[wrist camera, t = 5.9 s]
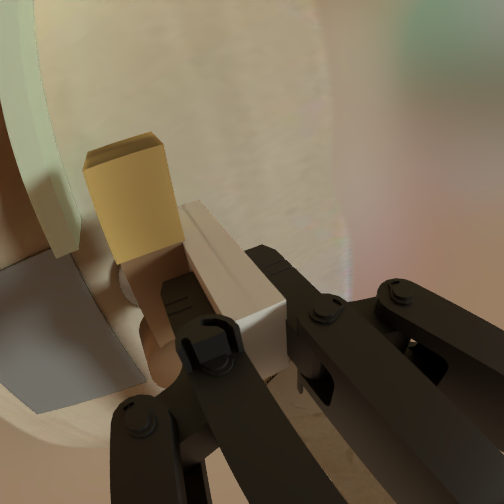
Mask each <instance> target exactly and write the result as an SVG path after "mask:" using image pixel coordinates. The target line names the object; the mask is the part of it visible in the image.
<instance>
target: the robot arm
mask: <svg viewBox="0 0 504 504" xmlns="http://www.w3.org/2000/svg"><path fill="white" fill-rule="evenodd" d="M177 209H178V213H179V217H180V221H181V225H182V229H183V233H184V237H185V241H182V244H183V247H184V251H185V255H186V258H187V262H188V266H189V269H190V272H188V273H186V274H183V275H180V276H177V277H175V278H172V279H169V280H166V281H164V282H163V284H162V288H161V292H160V295H161V298H162V301H163V304H164V307H165V310H166V313H167V316H168V319H169V322H170V324H171V327H172V330H173V333H174V336H175V338H176V339H175V349H176V352H177V354H178V356H179V358H180V360H181V362H182V368H181V371H180V374H179V376H178V377H177V379H176V380H175V381H174V382H173V383H172V384H171V385H170V386H169V387H168V388H166V389H165V390H164V391H162V392H161V393H160V394H158V395H157V396H156V397H153V396H151V395H136V396H133V397H129V398H128V399H126V400H125V401H123V402H122V403H120V404H119V406H118V407H117V409H116V410H115V411H114V413H113V417H112V421H111V432H110V490H111V491H110V493H111V504H212V500H211V494H210V488H209V483H208V477H207V471H206V465H205V458H206V457H207V456H208V455H210V454H211V453H212V452H213V451H215V450H216V449H217V448H218V447H220V449H221V451H222V453H223V455H224V457H225V459H226V461H227V463H228V465H229V467H230V469H231V470H232V473H233V474H234V476H235V478H236V480H237V482H238V484H239V486H240V488H241V489H242V491H243V493H244V495H245V496H246V498H247V500H248V502H249V504H348V503H347V501H346V500H345V499H344V497H343V496H342V495H341V494H340V492H339V491H338V490H337V488H336V487H335V485H334V484H333V483H332V481H331V480H330V479H329V477H328V476H327V475H326V473H325V472H324V470H323V469H322V468H321V466H320V465H319V463H318V462H317V461H316V459H315V458H314V456H313V455H312V453H311V452H310V451H309V449H308V448H307V446H306V445H305V443H304V442H303V440H302V439H301V438H300V436H299V435H298V433H297V432H296V430H295V429H294V427H293V426H292V424H291V423H290V421H289V420H288V418H287V417H286V415H285V414H284V412H283V411H282V409H281V408H280V406H279V404H278V403H277V401H276V400H275V398H274V397H273V395H272V394H271V392H270V391H269V389H268V387H267V386H266V384H265V383H264V381H263V380H264V379H266V378H268V377H270V376H272V375H274V374H276V373H278V372H280V371H282V370H284V369H286V368H288V367H289V358H290V359H291V360H292V362H293V363H294V364H295V366H296V367H297V389H298V391H299V394H302V393H303V386H304V388H305V389H306V390H307V392H308V393H309V394H310V396H311V397H312V398H313V400H314V401H315V402H316V404H317V405H318V406H319V408H320V409H321V410H322V412H323V413H324V414H325V416H326V417H327V418H328V419H329V421H330V422H331V423H332V425H333V426H334V427H335V428H336V430H337V431H338V432H339V434H340V435H341V436H342V437H343V439H344V440H345V441H346V442H347V444H348V445H349V446H350V448H351V449H352V450H353V451H354V453H355V454H356V455H357V456H358V458H359V459H360V460H361V461H362V462H363V464H364V465H365V466H366V467H367V469H368V470H369V471H370V472H371V474H372V475H373V476H374V477H375V478H376V480H377V481H378V482H379V483H380V484H381V486H382V487H383V488H384V489H385V490H386V492H387V493H388V494H389V495H390V496H391V498H392V499H393V500H394V501H395V502H396V503H397V504H504V455H503V454H502V453H501V452H500V451H502V452H504V331H503V330H502V329H500V328H498V327H496V326H494V325H492V324H491V323H489V322H487V321H485V320H484V319H482V318H480V317H478V316H476V315H474V314H473V313H471V312H469V311H467V310H465V309H463V308H462V307H460V306H458V305H456V304H454V303H452V302H450V301H448V300H446V299H444V298H443V297H441V296H439V295H437V294H435V293H433V292H431V291H429V290H427V289H425V288H423V287H421V286H419V285H417V284H415V283H413V282H411V281H408V280H405V279H397V278H394V279H390V280H386V281H385V282H383V283H382V284H381V285H380V286H379V288H378V291H377V295H376V297H372V298H368V299H363V300H358V301H352V302H347V301H345V300H344V299H342V298H341V297H339V296H336V295H332V294H321V293H320V292H319V291H318V290H317V289H316V288H315V287H314V286H313V285H312V284H311V283H310V282H309V281H308V280H307V279H306V278H305V277H303V276H302V275H301V274H300V273H299V272H298V271H297V270H296V269H295V268H294V267H292V265H291V264H290V263H289V262H288V261H287V260H285V259H284V257H283V256H282V255H281V254H279V253H278V252H277V251H276V250H275V249H272V248H270V247H267V246H265V245H259V246H257V247H254V248H251V249H248V250H246V251H243V250H242V249H241V248H240V246H239V245H238V244H237V243H236V242H235V241H234V240H233V238H232V237H231V236H230V235H229V234H228V233H227V231H226V230H225V229H224V228H223V227H222V226H221V225H220V223H219V222H218V221H217V220H216V219H215V218H214V217H213V215H212V214H211V213H210V212H209V211H208V210H207V208H206V207H205V206H204V205H203V204H202V203H201V202H200V200H198V201H195V202H192V203H188V204H185V205H182V206H179V207H177ZM411 339H413V340H415V341H416V342H410V340H411Z"/></svg>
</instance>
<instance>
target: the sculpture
mask: <svg viewBox="0 0 504 504" xmlns="http://www.w3.org/2000/svg"><path fill="white" fill-rule="evenodd" d="M266 386H267V387H268V389H269V391H270V392H271V394H272V395H273V397H274V398H275V400H276V401H277V403H278V404H279V406H280V408H281V409H282V411H283V412H284V414H285V415H286V417H287V418H288V420H289V421H290V423H291V424H292V426H293V427H294V429H295V430H296V432H297V433H298V435H299V436H300V438H301V439H302V440H303V442H304V443H305V445H306V446H307V448H308V449H309V451H310V452H311V453H312V455H313V456H314V458H315V459H316V460H317V462H318V463H319V465H320V466H321V467H322V469H323V470H324V471H325V473H326V474H327V475H328V476H329V478H330V479H331V480H332V483H333V484H334V485H335V487H336V488H337V490H338V491H339V492H340V494H341V495H342V496H343V497H344V499H345V500H346V501H347V503H348V504H397V503H396V502H395V501H394V500H393V499H392V498H391V496H390V495H389V494H388V493H387V492H386V490H385V489H384V488H383V487H382V486H381V484H380V483H379V482H378V481H377V480H376V478H375V477H374V476H373V475H372V474H371V472H370V471H369V470H368V469H367V467H366V466H365V465H364V464H363V462H362V461H361V460H360V459H359V458H358V456H357V455H356V454H355V453H354V451H353V450H352V449H351V448H350V446H349V445H348V444H347V442H346V441H345V440H344V439H343V437H342V436H341V435H340V434H339V432H338V431H337V430H336V428H335V427H334V426H333V425H332V423H331V422H330V421H329V419H328V418H327V417H326V416H325V414H324V413H323V412H322V410H321V409H320V408H319V406H318V405H317V404H316V402H315V401H314V400H313V398H312V397H311V396H310V394H309V393H308V392H307V390H306V389H305V388H304V386H303V393H302V394H299V391H298V389H297V367H296V366H295V364H294V363H293V362H292V360H290V361H289V367H288V368H286V369H284V370H282V371H280V372H278V374H277V375H276V376H275V377H274V378H273V379H271V381H270V382H269V383H268V384H267V385H266Z"/></svg>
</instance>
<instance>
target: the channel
mask: <svg viewBox="0 0 504 504" xmlns="http://www.w3.org/2000/svg"><path fill="white" fill-rule="evenodd" d="M0 100H1V105H2V110H3V115H4V119H5V123H6V127H7V131H8V135H9V139H10V142H11V146H12V149H13V152H14V156H15V159H16V162H17V165H18V168H19V171H20V174H21V177H22V180H23V183H24V186H25V188H26V191H27V194H28V196H29V199H30V201H31V204H32V206H33V209H34V211H35V214H36V216H37V218H38V221H39V223H40V225H41V228H42V230H43V232H44V234H45V236H46V239H47V241H48V243H49V245H50V247H51V249H52V251H53V253H54V255H55V257H56V259H57V258H59V257H62V256H64V255H67V254H69V253H72V252H74V251H77V250H79V242H80V232H81V223H82V220H81V218H80V215H79V212H78V210H77V207H76V204H75V202H74V199H73V196H72V193H71V190H70V188H69V185H68V182H67V179H66V176H65V173H64V169H63V166H62V163H61V160H60V156H59V153H58V149H57V146H56V142H55V139H54V135H53V131H52V127H51V123H50V119H49V115H48V110H47V106H46V101H45V96H44V91H43V86H42V80H41V75H40V68H39V62H38V54H37V46H36V37H35V25H34V8H33V0H0Z"/></svg>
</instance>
